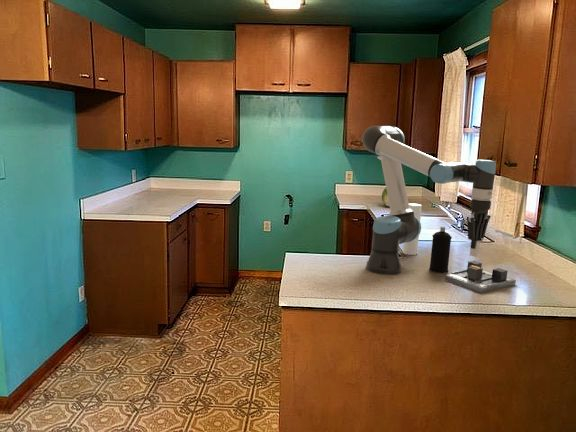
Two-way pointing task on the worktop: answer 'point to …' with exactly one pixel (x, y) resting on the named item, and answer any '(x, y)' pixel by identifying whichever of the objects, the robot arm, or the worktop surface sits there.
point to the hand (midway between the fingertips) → (473, 255)
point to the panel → (482, 285)
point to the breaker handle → (474, 272)
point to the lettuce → (385, 198)
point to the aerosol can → (440, 251)
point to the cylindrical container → (412, 246)
